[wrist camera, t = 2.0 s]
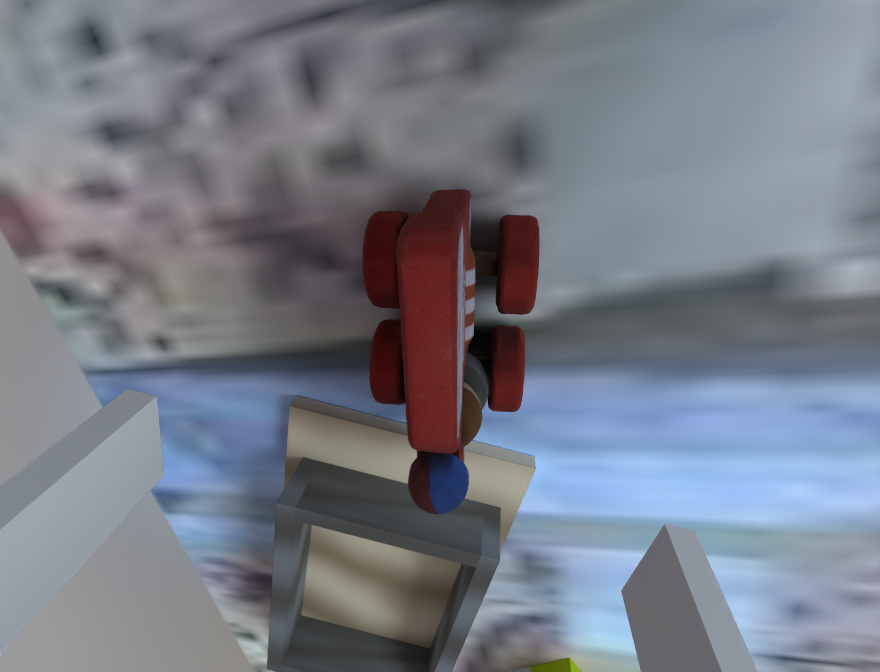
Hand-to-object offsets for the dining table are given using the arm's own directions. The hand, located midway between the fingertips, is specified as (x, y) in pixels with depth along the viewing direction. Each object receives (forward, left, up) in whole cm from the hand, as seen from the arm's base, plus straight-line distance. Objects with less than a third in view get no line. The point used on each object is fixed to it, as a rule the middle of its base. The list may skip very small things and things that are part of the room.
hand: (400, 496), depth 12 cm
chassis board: (+20, 0, -12) cm, 23 cm away
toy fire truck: (0, 0, -12) cm, 12 cm away
